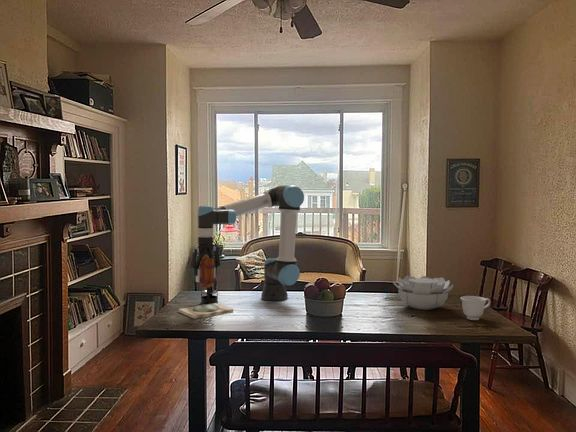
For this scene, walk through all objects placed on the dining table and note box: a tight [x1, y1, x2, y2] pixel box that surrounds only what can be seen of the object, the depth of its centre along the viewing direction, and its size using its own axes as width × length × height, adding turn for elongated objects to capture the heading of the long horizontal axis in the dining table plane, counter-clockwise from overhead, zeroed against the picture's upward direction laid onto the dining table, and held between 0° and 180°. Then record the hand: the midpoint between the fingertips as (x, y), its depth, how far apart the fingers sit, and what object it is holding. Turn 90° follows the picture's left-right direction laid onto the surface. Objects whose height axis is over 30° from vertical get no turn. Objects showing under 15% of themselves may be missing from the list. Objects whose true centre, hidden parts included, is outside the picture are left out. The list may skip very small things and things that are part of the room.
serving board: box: [178, 303, 234, 320], centre depth 255 cm, size 22×17×2 cm
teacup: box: [460, 295, 492, 321], centre depth 244 cm, size 12×15×10 cm
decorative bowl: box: [392, 275, 454, 311], centre depth 266 cm, size 30×30×15 cm
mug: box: [199, 255, 217, 288], centre depth 254 cm, size 15×8×15 cm, turn 17°
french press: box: [200, 271, 219, 305], centre depth 275 cm, size 12×9×23 cm
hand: (205, 280), depth 254 cm, fingers closed on mug, 8 cm apart
